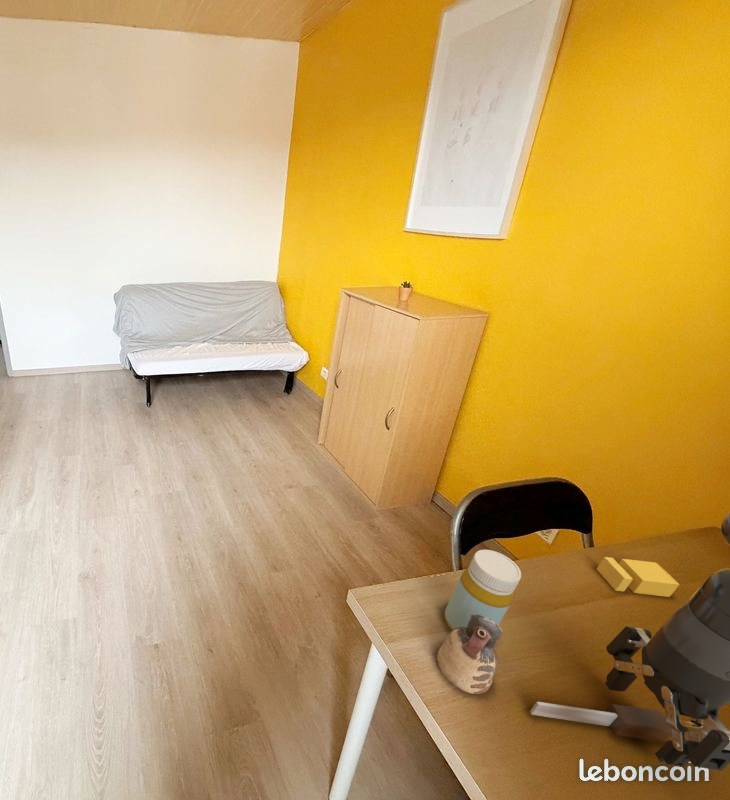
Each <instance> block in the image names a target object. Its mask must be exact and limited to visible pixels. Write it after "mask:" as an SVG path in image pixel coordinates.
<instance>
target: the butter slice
mask: <svg viewBox="0 0 730 800" xmlns="http://www.w3.org/2000/svg"><path fill="white" fill-rule="evenodd" d="M596 570H597V572H598V573H599V574H600V575H601V576H602V577H603V579H605V581H606V582H607V583H608V584H609V585H610V586H611V588H612V589H614V591H616V592H625V591H626V590H627V588H629V587H628V585H629V584H630V583H631V581H632V580H633V578H632V577H631V576H630V575H629V574H628V573H627V572H626V571H625V570H624V569H623V568H622V567H621V566H620V565H619V562H617V561H616V559H614V557H610V556H604V557H603V558H602V559H601V561H600V562H599V565H598V566H597V567H596Z"/></svg>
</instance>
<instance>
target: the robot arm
mask: <svg viewBox="0 0 730 800" xmlns="http://www.w3.org/2000/svg"><path fill="white" fill-rule="evenodd" d="M720 535H721V537H722V539H723V541H724V542H725V543H726V544H727V545H728V546H730V511H728V512H727V513H726V515H725V516H724V517H723V518H722V521H721V524H720ZM640 649H641V663H638V662H634V661H633V659H632V657H633V656H635V654H637V653H638V652H639V650H640ZM606 652H607V653H608V655H610V656H612V657H613V659H614V660H613V667H612V669H611V670H610V672H609V673H608V674H607V675H606V679H605V680H606V681H605V682H604V684H605V686H606V687H607V689H608V690H609V691H615V692H621V693H622V692H626V690H627V689H628V688H629V687H630V686H631V685H632V684H633V683H634V682H635V680H637V678H638V676H637V675H642V678H643V680H644V682H643V684H644V685H645V686H646V688H648V690H649V691H650V692H652V694H653V695H654V696H655V698H656V699H657V701H658V703H659V704H660V705H661V707H662V708H663V709H664V713H665V714H664V715H665V716H664V717H665V718H666V723H667V724H668V725H669V726H670V727H671V735H670V736H671V740H670V739H669V740H668V741H667V742H665V743H664V744H663V745H662V746H661V747H660V748H659V749H658V750H657V751H656V752H655V753H654V755H655V757H656V758H657V759H658V761H659V762H660V763H665V764H666V765H667V766H672V767H673V766H674V767H678V768H679V767H680V768H684V767H685V766H687V764H689V763H691V764H692V765H693V767H696V768H703V769H708V770H714V771H720V772H721V771H723V770H724V769H725V768H726V767H727V766H728V765H729V764H730V729H729V728H728V727H727V726H726V725H725V723H723V722H722V720H720V719H719V716H720V708H722V707H724V706H726V705H727V704H728V705H729V704H730V567H724V568H723V567H722V568H720V569H717V570H715V571H714V572H712V573H711V574H710V575H709V576H708V577H707V578H706V579H705V581H704V582H703V583H701V585H700V586H699V587H698V588H697V589H696V591H695V592H694V593H693V594H692V595H691V596H690V598H689V599H688V600H687V601H686V602H685V603H683V604H682V605H680V606H679V607H678V608H677V609H675V610H674V611H673V612H672V614H671V615H670V616H669V617H668V618H667V620H666V621H665V622H664V623H663V624H662V625H661V627H660V628H659V629H658V630H657V631H656V632H655V634H654V635H653V634H652V632H651V631H650V630H649V629H647V628H641V627H635V626H625V627H623V629H622V630H621V631H620V632H619V633H618V634H617V635H616V636H615V637H614V638H613V639H612V640H611V642H609V643H608V644H607V645H606ZM681 716H683V717H688V718H691V719H690V720H688V721H687V720H681ZM686 733H688V739H687V738H686V737H687V735H686Z"/></svg>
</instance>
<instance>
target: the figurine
mask: <svg viewBox="0 0 730 800" xmlns="http://www.w3.org/2000/svg"><path fill="white" fill-rule="evenodd" d="M503 634H504V633H503V630H502V628H501V627H499V625H498V626H497V625H496V624H495V623H494V622H493V621H492V620H491V619H489V618H487V617H484V616H481V615H475V614H472V615H471V619H470V620H469V622H468V626H467V628H466V627H458V628H455V629H454V630H453V631H452V630H451V632H450V633H449V634H448V635H447V636H446V638H445V640H444V642H443V643H442V644H441V645H440V647H439V649H438V652H437V655H436V661H437V664H438V668H439V669H440V671H441V672H442V674H443V675H444V677H445V678H446V679H447V681H449V682H450V683H451V684H452V685H454V686H455V687H457V688H458V689H460V690H461V691H463V692H465V693H469V694H473V695H481V694H484V693H486V692H487V691H488V690H489V689H490V687H491V686H492V683H493V678H494V675H495V673H496V671H497V668H498V665H499V659H498V653H497V652H496V649H495V645H496V644H497V643H499V640H500V638H501V637H502V635H503Z"/></svg>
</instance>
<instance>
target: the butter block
mask: <svg viewBox="0 0 730 800" xmlns="http://www.w3.org/2000/svg"><path fill="white" fill-rule="evenodd" d="M618 564H619V565H620V566H621V567H622V568H623V569H624V570H625V571H626V572H627V573H628V574H629V575H630V576H631V577H632V578H633V580H632V581H631V583H630V584H629V585H628V587H627V588H629V590H630V591H631V592H632V593H634V594H641V595H649V596H650V595H651V596H659V597H665V598H666V597H667V598H670V597H671V596H672V595H673V594H674V592H675V591H676V590H677V588H678V587H679V586H680V583H679V582H678V581H677V580H676V579H674V577H673V576H671V575H670V573H668V572H667V571H666V570H665V569H664V568H663V567H662V566H661V565H660V564H659V563H658V562H654V561H646V560H638V559H637V560H636V559H628V558H621V559H620V561H619V562H618Z"/></svg>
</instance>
